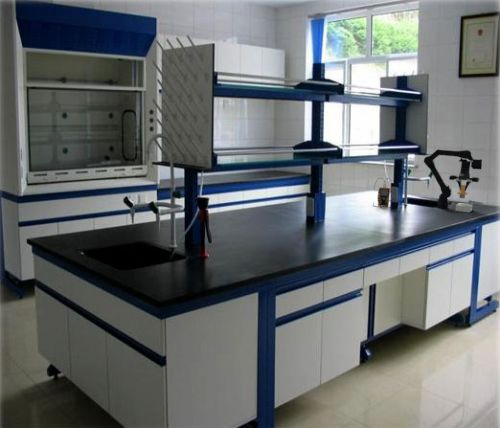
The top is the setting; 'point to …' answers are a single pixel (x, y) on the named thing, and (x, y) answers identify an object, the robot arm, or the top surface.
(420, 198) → the top surface
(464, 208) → the socket block
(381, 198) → the multimeter
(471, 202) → the clip
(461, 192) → the plug
